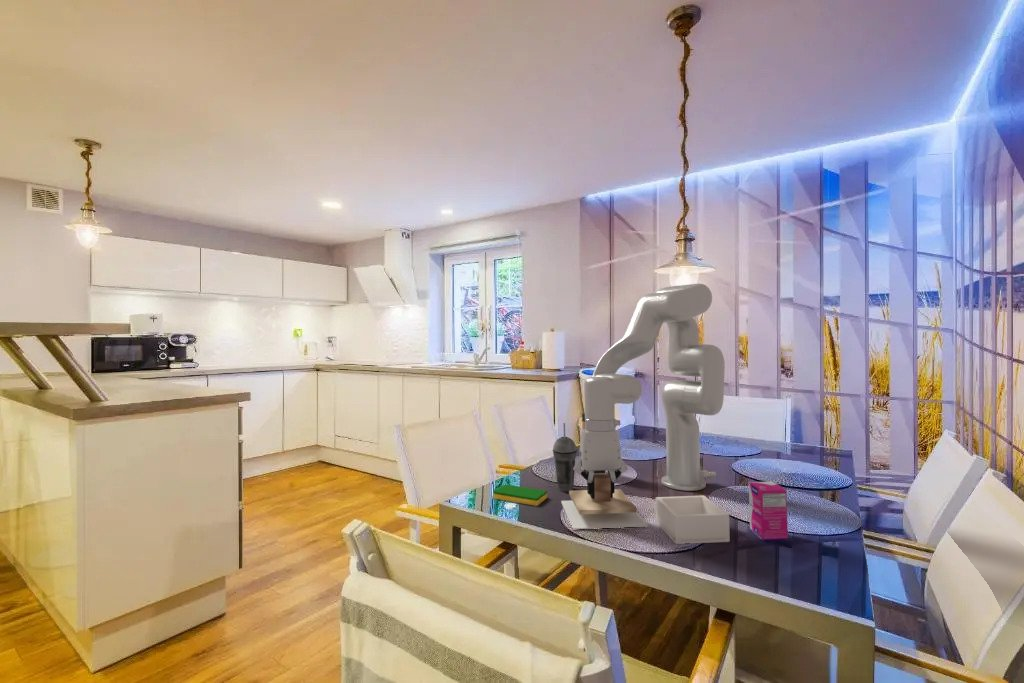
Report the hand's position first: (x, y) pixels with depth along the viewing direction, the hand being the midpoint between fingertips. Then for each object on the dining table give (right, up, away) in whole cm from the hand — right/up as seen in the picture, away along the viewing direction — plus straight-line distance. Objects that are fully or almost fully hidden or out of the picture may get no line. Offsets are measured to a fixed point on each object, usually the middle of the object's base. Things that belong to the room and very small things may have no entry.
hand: (600, 495), depth 117 cm
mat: (0, -5, 0) cm, 5 cm away
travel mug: (+5, -4, +34) cm, 35 cm away
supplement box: (+35, -4, -14) cm, 38 cm away
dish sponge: (-20, -6, +13) cm, 25 cm away
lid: (0, -2, 0) cm, 2 cm away
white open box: (+19, -4, -11) cm, 22 cm away
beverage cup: (-7, -5, +20) cm, 22 cm away
